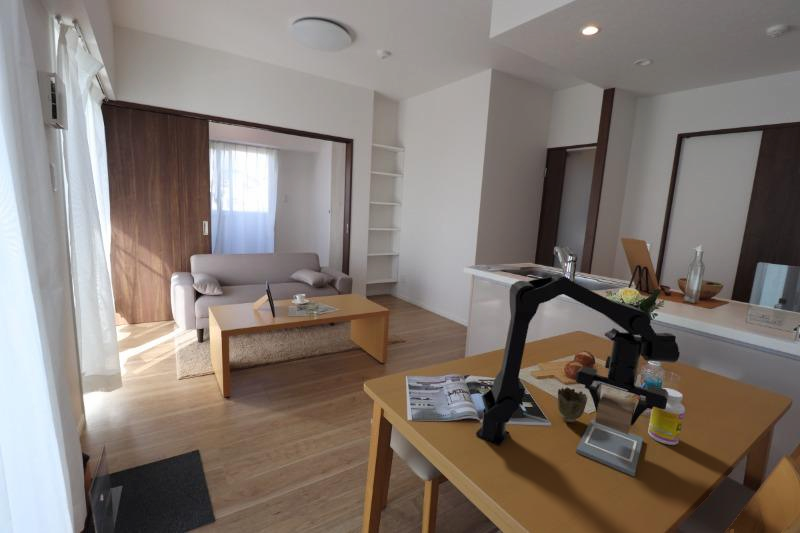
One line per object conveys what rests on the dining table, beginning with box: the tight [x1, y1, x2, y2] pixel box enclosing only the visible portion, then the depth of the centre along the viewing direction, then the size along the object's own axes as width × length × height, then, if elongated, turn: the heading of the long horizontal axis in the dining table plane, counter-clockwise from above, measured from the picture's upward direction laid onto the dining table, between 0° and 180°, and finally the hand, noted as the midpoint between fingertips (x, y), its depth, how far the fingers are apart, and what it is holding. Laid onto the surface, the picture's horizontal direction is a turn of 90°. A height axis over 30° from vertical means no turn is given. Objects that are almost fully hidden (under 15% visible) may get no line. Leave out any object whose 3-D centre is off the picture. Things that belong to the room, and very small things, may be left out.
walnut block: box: [595, 392, 637, 434], centre depth 91 cm, size 7×7×5 cm
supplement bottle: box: [647, 387, 686, 446], centre depth 96 cm, size 7×7×13 cm
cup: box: [557, 387, 588, 424], centre depth 102 cm, size 8×7×8 cm
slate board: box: [575, 419, 644, 477], centre depth 92 cm, size 17×12×1 cm
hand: (614, 418), depth 91 cm, fingers closed on walnut block, 7 cm apart
